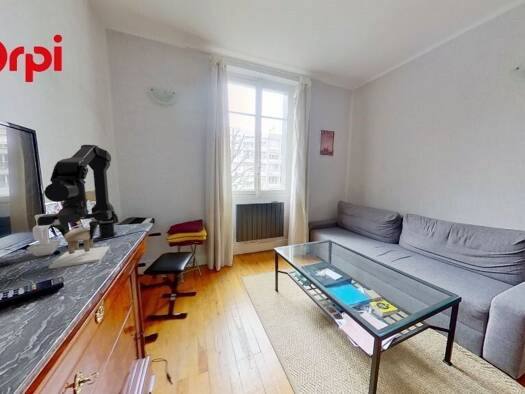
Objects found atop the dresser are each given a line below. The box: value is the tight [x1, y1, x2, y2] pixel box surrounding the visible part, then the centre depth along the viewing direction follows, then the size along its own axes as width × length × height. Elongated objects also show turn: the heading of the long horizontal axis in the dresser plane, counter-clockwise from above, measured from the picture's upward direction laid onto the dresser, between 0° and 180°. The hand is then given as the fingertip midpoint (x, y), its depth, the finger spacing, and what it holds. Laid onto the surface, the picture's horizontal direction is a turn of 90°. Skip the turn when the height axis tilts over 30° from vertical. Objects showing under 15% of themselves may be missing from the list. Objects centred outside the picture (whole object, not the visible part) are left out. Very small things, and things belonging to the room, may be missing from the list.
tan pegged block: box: [64, 227, 95, 254], centre depth 72 cm, size 6×6×7 cm
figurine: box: [26, 213, 62, 257], centre depth 76 cm, size 7×9×15 cm
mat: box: [48, 245, 110, 270], centre depth 73 cm, size 13×13×1 cm
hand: (80, 240), depth 72 cm, fingers closed on tan pegged block, 6 cm apart
